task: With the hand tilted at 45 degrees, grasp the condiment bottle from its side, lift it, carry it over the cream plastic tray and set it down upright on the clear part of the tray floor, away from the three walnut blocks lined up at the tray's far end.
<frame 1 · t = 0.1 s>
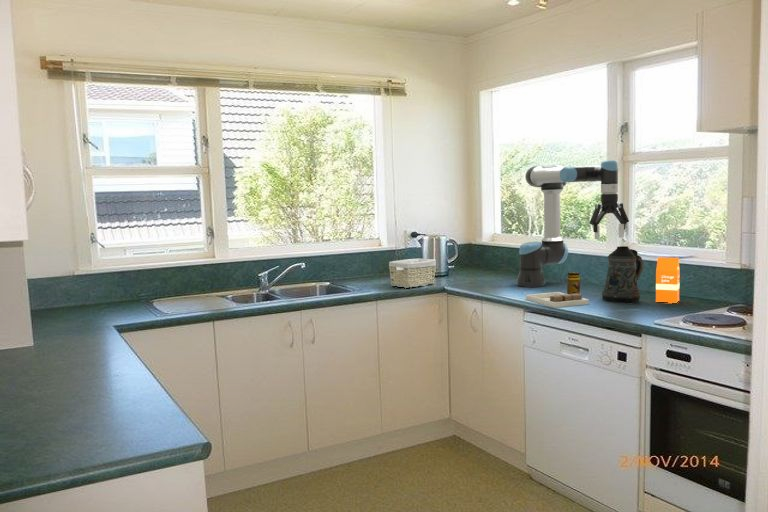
hand: (609, 238, 297), 28 cm above the worktop, tool pointing down, fingers open, 13 cm apart
condiment: (571, 297, 304), on the worktop
beer stein: (622, 300, 290), on the worktop
orange juice: (667, 302, 283), on the worktop
block a: (556, 305, 281), point 1 cm above the worktop, touching tray
storage basket: (413, 286, 355), on the worktop
block c: (575, 303, 284), point 1 cm above the worktop, touching tray
block b: (565, 304, 282), point 1 cm above the worktop, touching tray
tray: (556, 302, 289), on the worktop
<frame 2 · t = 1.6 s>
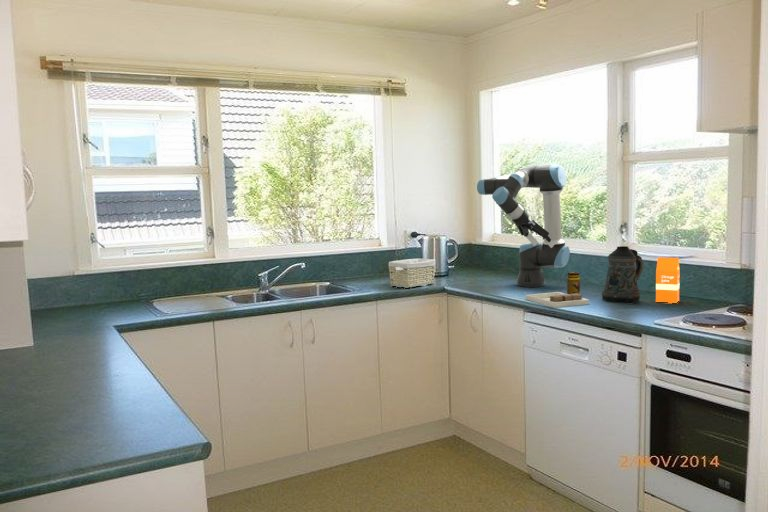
hand: (544, 245, 301), 26 cm above the worktop, tool tilted 45°, fingers open, 13 cm apart
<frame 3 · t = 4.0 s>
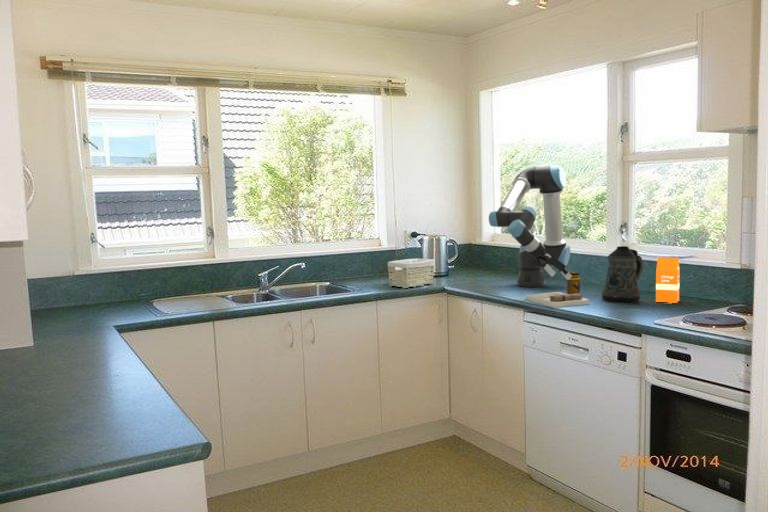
hand: (561, 276, 300), 11 cm above the worktop, tool tilted 45°, fingers open, 13 cm apart
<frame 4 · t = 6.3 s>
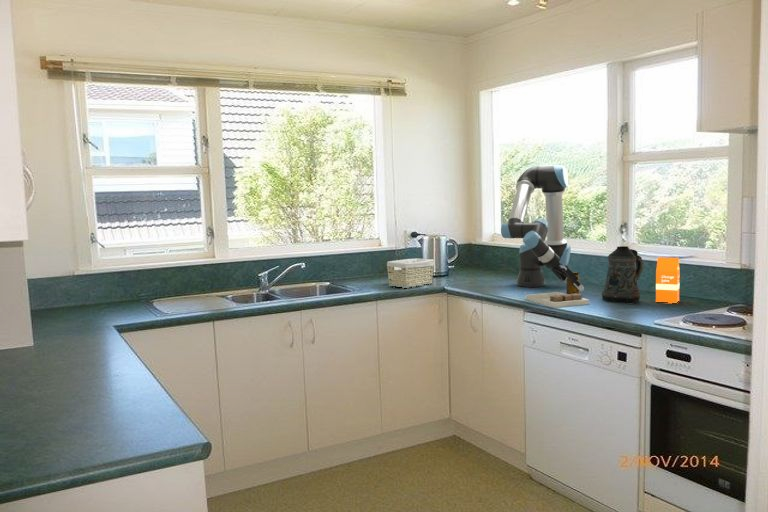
hand: (578, 288, 304), 4 cm above the worktop, tool tilted 45°, fingers closed on condiment, 6 cm apart
condiment: (571, 297, 304), on the worktop, touching gripper
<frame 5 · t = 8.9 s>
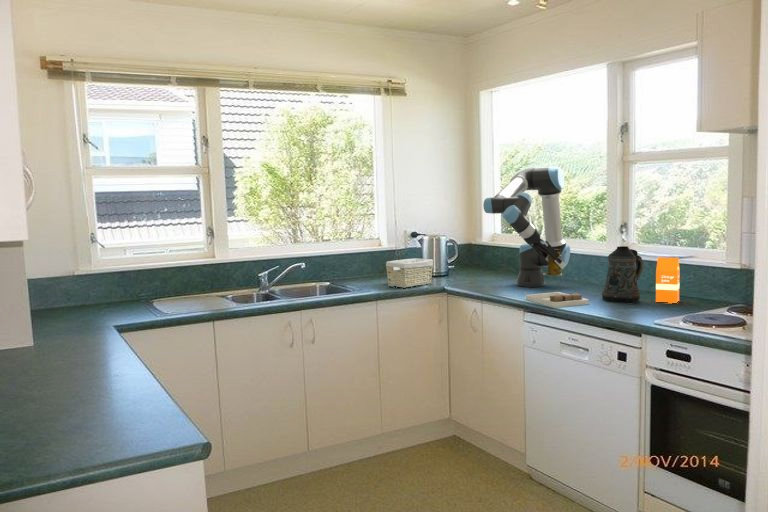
hand: (559, 266, 295), 16 cm above the worktop, tool tilted 45°, fingers closed on condiment, 6 cm apart
condiment: (552, 275, 294), point 12 cm above the worktop, touching gripper
when the fingers open (6 cm above the worktop, at t = 11.4 s): condiment stays where it is, resting on tray.
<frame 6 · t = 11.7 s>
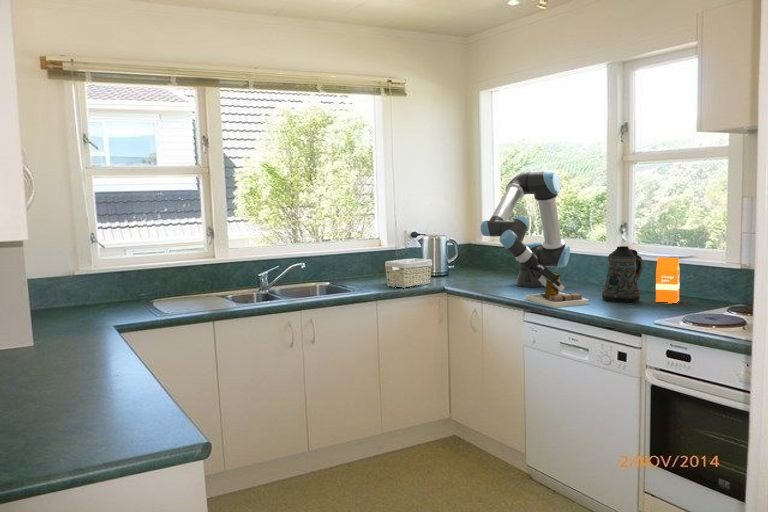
hand: (555, 288, 294), 6 cm above the worktop, tool tilted 45°, fingers open, 11 cm apart
condiment: (549, 297, 295), point 1 cm above the worktop, touching tray
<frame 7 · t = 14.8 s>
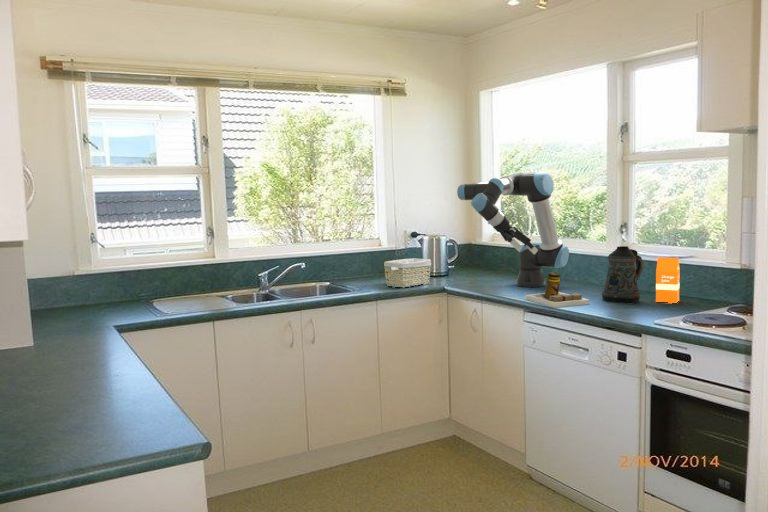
hand: (528, 250, 291), 24 cm above the worktop, tool tilted 45°, fingers open, 13 cm apart
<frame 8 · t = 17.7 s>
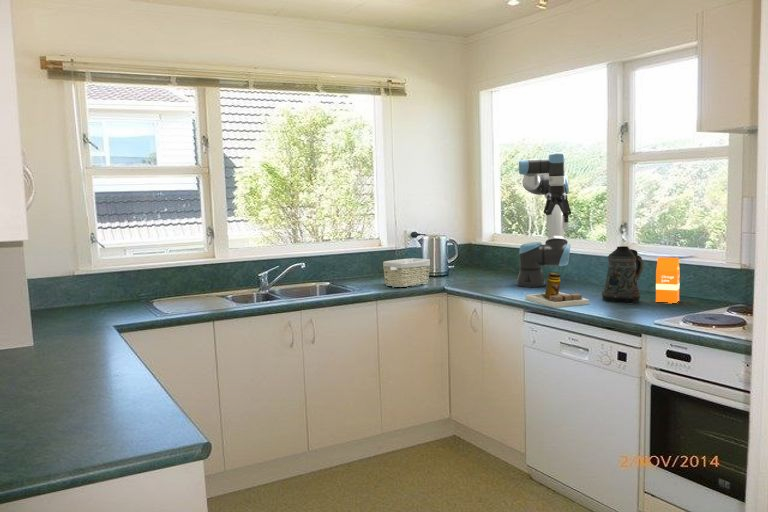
hand: (557, 228, 308), 33 cm above the worktop, tool pointing down, fingers open, 13 cm apart
at the end: condiment inside the target area on the tray (5.6 cm from its centre), point 1.4 cm above the tray's base; condiment tilted 11°; the gripper is holding nothing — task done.
